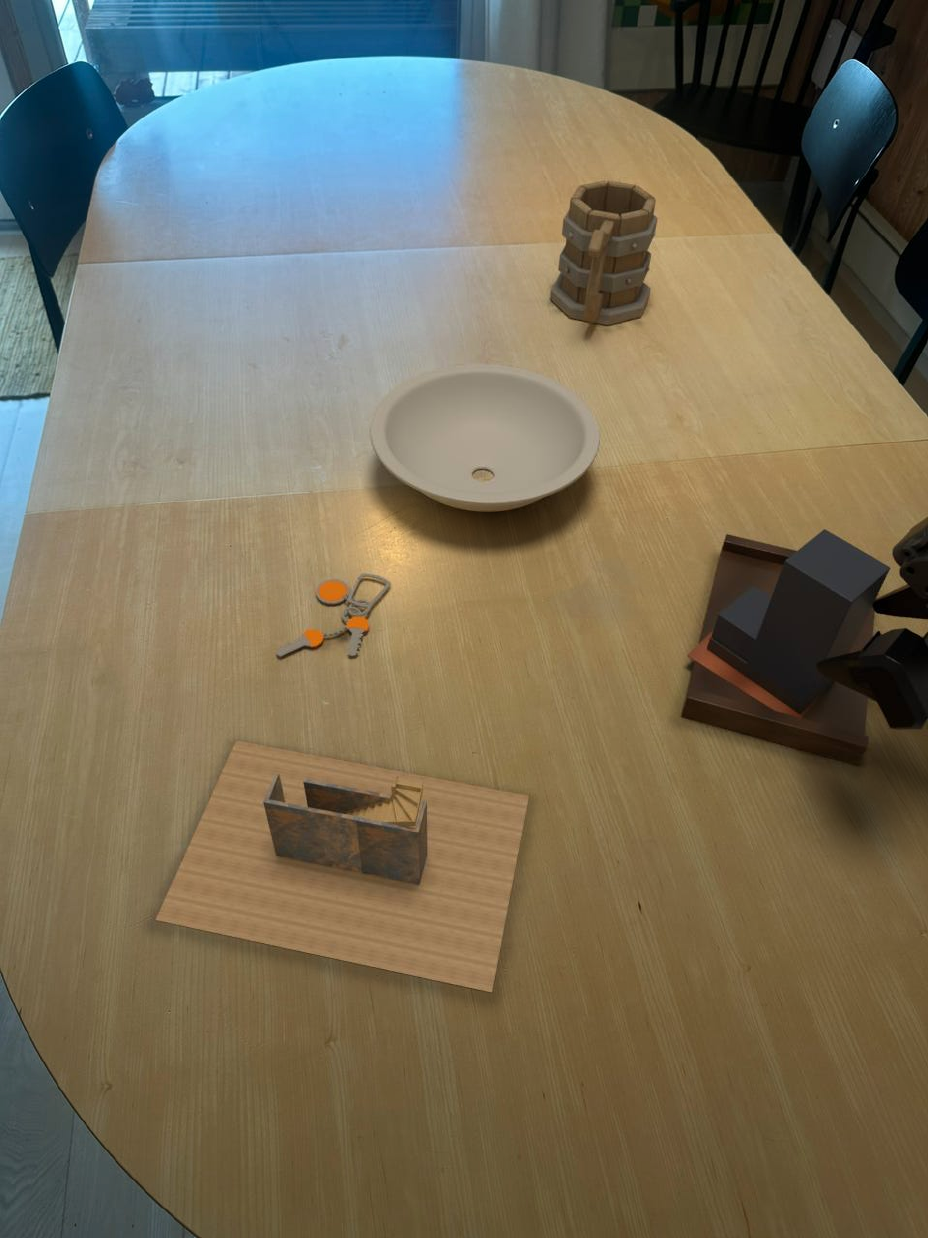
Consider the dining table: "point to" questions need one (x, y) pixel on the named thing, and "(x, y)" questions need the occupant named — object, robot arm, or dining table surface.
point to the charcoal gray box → (800, 619)
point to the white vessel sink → (484, 435)
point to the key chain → (335, 594)
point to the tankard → (606, 253)
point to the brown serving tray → (746, 705)
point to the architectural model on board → (353, 864)
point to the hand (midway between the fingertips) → (847, 636)
